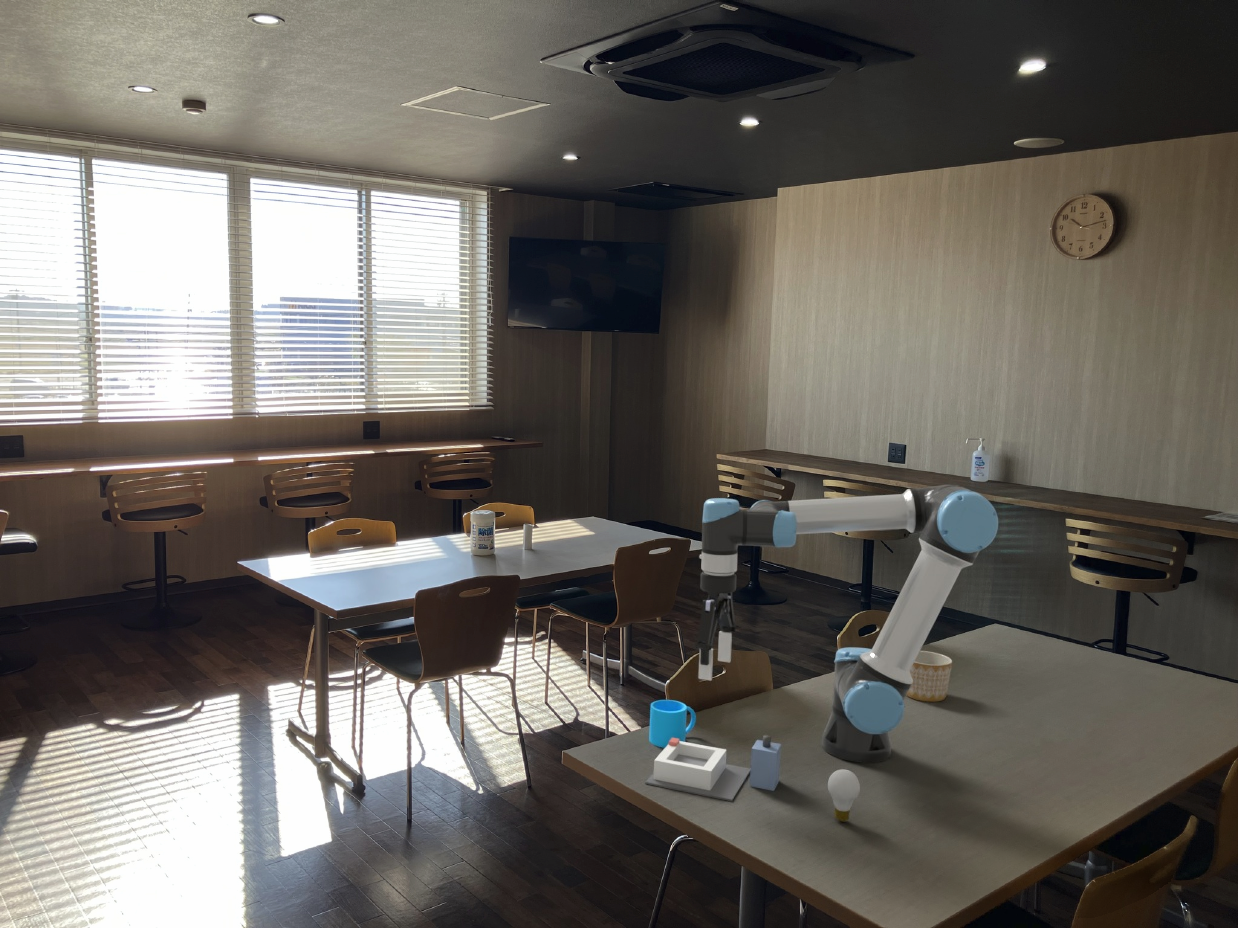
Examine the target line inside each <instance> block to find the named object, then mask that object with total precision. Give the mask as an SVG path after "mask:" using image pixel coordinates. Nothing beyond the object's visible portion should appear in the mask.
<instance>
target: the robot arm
mask: <svg viewBox="0 0 1238 928" xmlns="http://www.w3.org/2000/svg"><path fill="white" fill-rule="evenodd" d="M997 514H998V513H997V511H996V509H995V507H994V506H993V504H992V503H991V502H990V501H989V500H988V499H987V498H986V497H985V496H983V495H982V494H980V493H979V492H977V491H972V490H971V489H969V488H966V487H965V486H963V485H959V484H943V485H936V486H927V487H920V488H918V487H917V488H908V489H906V490H905V491H904V492H903V493H901V494H899V493H898V494H897V493H896V494H885V495H883V494H881V495H880V494H879V495H867V496H865V495H864V496H863V495H862V496H849V497H846V496H845V497H832V498H815V499H812V498H811V499H800V500H799V499H796V500H795V499H794V500H786V501H783V500H782V501H781V500H780V501H771V500H768V499H762V500H758V501H756V502H755V503H753V504H752V505H751V507H750V508H749V509H743V508H741V507H740V503H739V500H737V499H735V498H734V499H733V498H723V497H720V498H719V497H718V498H717V497H716V498H715V497H714V498H713V497H712V498H709V499H706V500H705V502H704V503H703V511H702V521H701V522H702V523H701V525H702V527H701V535H702V536H701V554H699V556H698V558H699V559H701V566H700V567H701V568H700V569H701V570H702V572H700V583H699V584H700V585H699V587H700V590H702V591H703V592H707V593H708V596H707V599H702V601H701V602H702V603H701V604H702V605H701V606H702V607H701V613H700V620H699V624H698V625H699V626H698V630H697V631H698V632H697V637H696V643H694V647H695V649H699V652H698V653H699V654H698V679H699V680H703V681H704V680H706V681H710V682H711V681H712V680H713V662H714V661H713V660H714V648H713V647H712V646H713V644H714V639H715V635H716V631H717V627H718V625H719V627H720V628H719V629H720V631H719V632H718V646H717V647H718V649H717V661H718V662H724V663H731V660H732V637H733V636H732V635H733V633H736V631H737V627H736V620H735V619H736V617H735V611H734V601H733V592H735V591H736V589H737V573H736V572H737V571H738V547H739V546H749V547H750V546H753V547H770V548H771V547H772V548H776V549H780V548H792V547H793V546H795V544H796V541H797V535H806V534H807V535H808V534H822V533H824V534H825V533H843V532H846V533H847V532H864V531H865V532H866V531H867V532H868V531H884V530H885V531H886V530H901V529H905V530H907V531H908V532H910V533H911V534H913V533H917V534H918V533H920V536H919V538H918V542H919V544H920V547H921V548H920V549H921V551H920V552H919V554H918V557H917V559H916V561H915V562H914V564H913V566H912V569H911V570H910V572H909V575H908V577H907V579H906V580H905V583H904V585H903V586H902V588H901V590H900V592H899V594H898V595H897V599H896V601H895V603H894V605H893V606H892V609H891V611H890V612H889V614H888V615H887V618H886V620H885V622H884V624H883V626H882V629H881V630H880V632H879V634H878V636H877V638H876V641H875V643H874V645H873V646H872V648H867V647H866V648H865V647H855V646H853V647H852V646H851V647H841V648H839V649H838V650H836V651H835V652H836V653H835V659H834V660H833V662H834V677H833V693H832V706H831V707H832V709H831V714H830V715H829V719H828V721H827V724H826V726H825V728H824V731H823V733H822V736H821V738H822V739H821V747H822V749H823V750H824V751H825V752H826V753H828V754H830V755H831V756H834V757H836V758H838V759H841V760H845V761H850V762H856V763H879V762H882V761H885V760H888V759H889V758H890V757H891V754H892V741H891V738H890V734H889V732H891V731H893V730H894V729H895V728H897V727H898V725H899V724H900V723H902V720H903V717H904V713H905V707H906V705H905V702H904V700H905V699H906V697H907V693H908V691H909V688H910V687H911V685H912V683H913V680H912V677H911V674H910V669H911V667H912V665H913V663H914V661H915V660H916V658H917V656H918V654H919V652H920V651H922V650H921V649H922V648H923V645H924V644H925V641H926V640H927V638H928V636H929V634H930V632H931V630H932V628H933V626H934V624H935V622H936V620H937V618H938V616H939V614H940V613H941V610H942V608H943V606H944V604H945V602H946V601H947V599H948V596H949V595H950V593H951V590H952V589H953V586H954V584H955V583H956V581H957V578H958V577H959V574H960V572H961V571H962V569H964V568H967V567H969V566H970V567H971V566H973V564H974V562H975V561H976V558H977V557H978V555H979V553H980V551H982V550H984V549H985V548H987V547H988V546H989V545H991V544H992V542H993V540H994V539H995V538H996V535H997V533H998V528H999V517H998V515H997Z"/></svg>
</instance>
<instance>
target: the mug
mask: <svg viewBox="0 0 1238 928" xmlns="http://www.w3.org/2000/svg"><path fill="white" fill-rule="evenodd" d="M649 711H650V712H649V713H650V714H649V717H650V718H649V735H648V737H649V738H648V741H649V743H650V744H651V745H653V746H655V747H659V748H663V749H665V748H666V746H667V745H668V744H669V741H670V740H671V738H678V739H679V741H682V742H686V737H687V736H686V735H687V734H689V733H690V732H691V731H692V730H693V728H694V727H695V725H696V721H697V716H696V712H695V711H694V709H692V708H691V706H687V705H686V704H685V703H684V702H681V701H678V700H672V699H659V700H656V701H653V702H651V703H650V710H649ZM688 712H689V713H690V717H691V718H690V723H689V724H688V726H687V714H688Z"/></svg>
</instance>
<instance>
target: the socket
mask: <svg viewBox="0 0 1238 928" xmlns="http://www.w3.org/2000/svg"><path fill="white" fill-rule="evenodd" d="M750 770H751V767H750V768H749V767H744V766H739V765H738V766H737V765H733V764H727V749H726V748H720V747H714V746H708V745H704V744H703V745H702V744H698V743H693V742H686V741H685V742H682V741H679V739H678V738H671V740H670V741H669V744H668V745H667V746H666V748H663V750H662V751H661V752H660V753H659V754H658V755H657V757H656V758H655V759H654V761H653V772H652V774H651V775H650V776H649V777H648V778H647V779H646V781H645V783H644V784H645V785H649V786H653V787H654V786H655V787H660V788H664V789H670V790H673V791H679V792H684V793H688V794H689V793H690V794H695V795H699V796H703V797H707V798H713V799H718V800H722V801H723V800H724V801H728V802H733V801H734V799H735V797H736V796H737V794H738V792H739V791H740V790H741V788H742V785H743V784H744V783H745V781H746V779H747V778H748V777H749V775H750Z"/></svg>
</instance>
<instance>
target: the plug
mask: <svg viewBox="0 0 1238 928" xmlns="http://www.w3.org/2000/svg"><path fill="white" fill-rule="evenodd" d="M781 751H782V744H781V743H778V742H777V743H776V742H772V736H771V735H768V734H764V735H763V736H762V740H760V739H757V740H755V743H754V745H752V747H751V751H750V752H751V753H750V754H751V756H750V757H751V758H750V769H751V770H750V773H749V775H750V776H749V787H752V788H758V789H763V790H768V791H773V792H774V791H775V789H776V788H777V785H778V784H779V782H780V772H781V771H780V768H781V753H782V752H781Z"/></svg>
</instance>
